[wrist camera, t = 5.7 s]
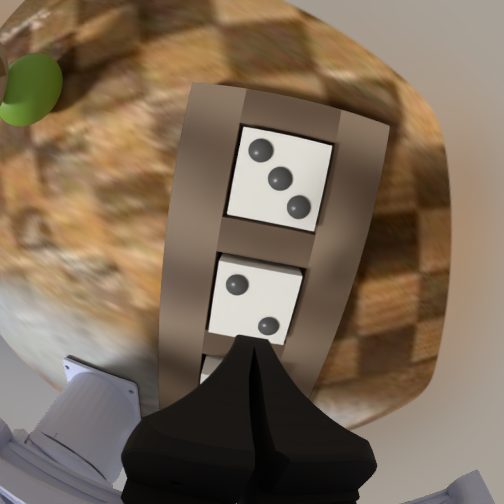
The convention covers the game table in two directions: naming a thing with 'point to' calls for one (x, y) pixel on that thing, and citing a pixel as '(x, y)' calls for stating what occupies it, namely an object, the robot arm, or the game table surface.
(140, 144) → the game table surface
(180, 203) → the key board
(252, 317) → the tile two pips
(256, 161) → the tile three pips
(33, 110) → the snail figurine
